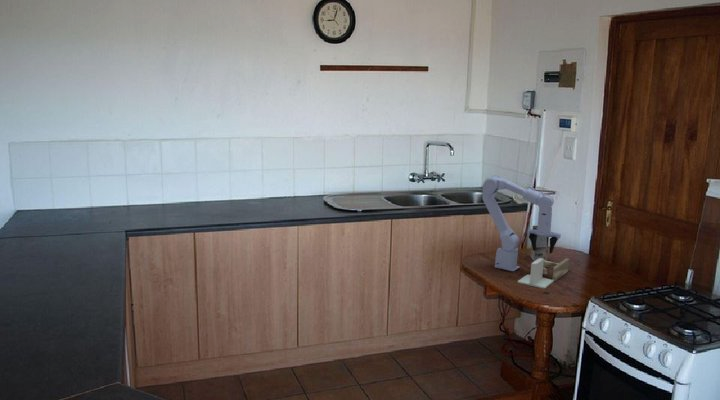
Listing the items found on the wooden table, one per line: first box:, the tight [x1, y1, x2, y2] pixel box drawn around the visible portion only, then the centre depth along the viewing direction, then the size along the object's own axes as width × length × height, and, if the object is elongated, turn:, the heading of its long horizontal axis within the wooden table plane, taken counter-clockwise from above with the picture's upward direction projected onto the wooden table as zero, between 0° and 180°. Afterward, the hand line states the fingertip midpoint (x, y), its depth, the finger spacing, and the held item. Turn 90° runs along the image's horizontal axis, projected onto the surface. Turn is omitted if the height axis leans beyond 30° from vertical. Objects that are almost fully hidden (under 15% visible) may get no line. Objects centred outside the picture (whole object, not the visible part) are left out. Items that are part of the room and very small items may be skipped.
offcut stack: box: [542, 266, 548, 275], centre depth 279 cm, size 5×8×2 cm, turn 3°
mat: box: [517, 274, 555, 289], centre depth 264 cm, size 12×12×1 cm
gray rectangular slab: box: [529, 258, 544, 284], centre depth 263 cm, size 2×10×9 cm, turn 145°
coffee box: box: [529, 225, 550, 262], centre depth 296 cm, size 9×6×16 cm
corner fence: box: [543, 257, 570, 282], centre depth 277 cm, size 14×19×6 cm
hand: (542, 251), depth 274 cm, fingers open, 7 cm apart
